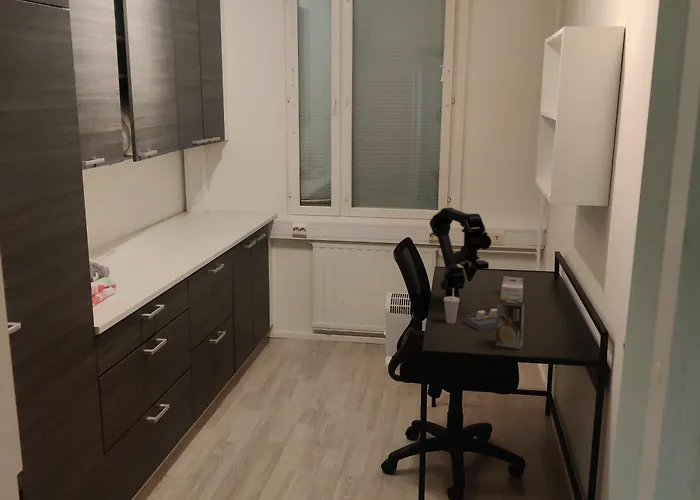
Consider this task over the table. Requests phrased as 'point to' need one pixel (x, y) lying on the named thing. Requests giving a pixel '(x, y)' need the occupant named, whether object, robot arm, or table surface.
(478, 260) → the robot arm
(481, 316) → the breaker paddles
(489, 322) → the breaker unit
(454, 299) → the smoothie
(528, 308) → the table surface
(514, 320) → the coffee box
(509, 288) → the ink cartridge box
